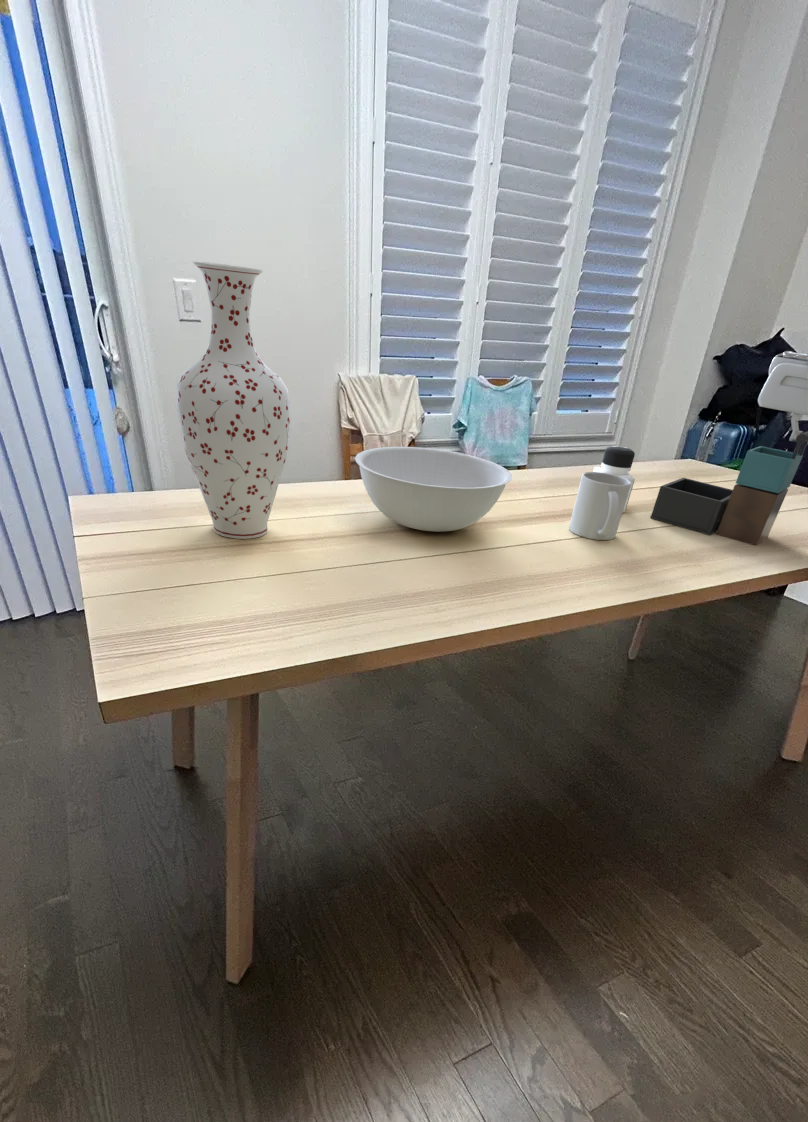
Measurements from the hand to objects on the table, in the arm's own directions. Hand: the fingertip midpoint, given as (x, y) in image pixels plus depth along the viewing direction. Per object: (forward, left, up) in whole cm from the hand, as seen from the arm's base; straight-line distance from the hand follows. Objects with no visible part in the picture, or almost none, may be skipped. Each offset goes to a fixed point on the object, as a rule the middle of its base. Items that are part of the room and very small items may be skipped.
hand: (802, 443), depth 117 cm
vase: (+61, +82, -19) cm, 104 cm away
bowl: (+46, +52, -19) cm, 72 cm away
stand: (+4, 0, -18) cm, 19 cm away
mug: (+24, +29, -19) cm, 42 cm away
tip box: (+3, 0, -8) cm, 9 cm away
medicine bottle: (+31, +8, -19) cm, 37 cm away
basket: (+14, 0, -18) cm, 24 cm away
